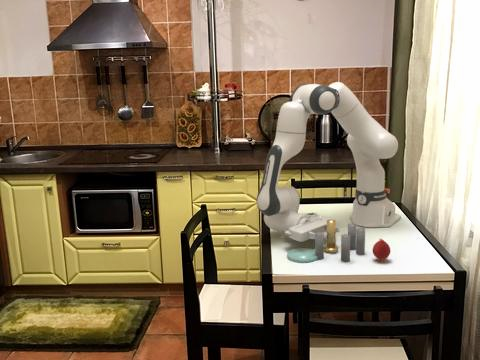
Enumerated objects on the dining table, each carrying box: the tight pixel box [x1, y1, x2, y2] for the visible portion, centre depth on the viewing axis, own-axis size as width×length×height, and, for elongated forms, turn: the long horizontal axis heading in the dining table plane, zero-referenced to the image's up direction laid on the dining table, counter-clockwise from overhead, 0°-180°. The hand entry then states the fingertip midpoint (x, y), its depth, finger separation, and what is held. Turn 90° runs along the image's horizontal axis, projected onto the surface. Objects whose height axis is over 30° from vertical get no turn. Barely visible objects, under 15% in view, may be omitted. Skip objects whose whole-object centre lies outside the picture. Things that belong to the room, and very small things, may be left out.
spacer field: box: [314, 223, 366, 263], centre depth 188 cm, size 18×11×9 cm, turn 134°
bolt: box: [324, 218, 339, 255], centre depth 191 cm, size 5×5×12 cm
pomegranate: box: [372, 237, 391, 262], centre depth 182 cm, size 6×6×8 cm
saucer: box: [286, 247, 318, 264], centre depth 188 cm, size 11×11×1 cm
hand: (329, 233), depth 192 cm, fingers open, 8 cm apart
